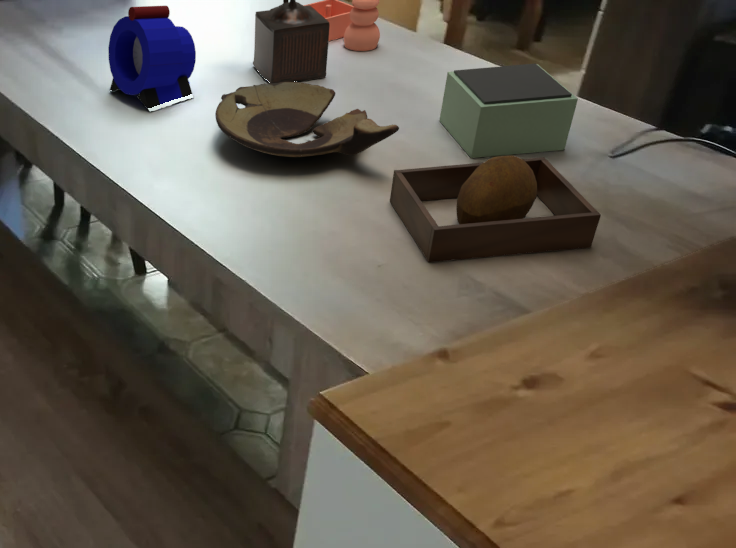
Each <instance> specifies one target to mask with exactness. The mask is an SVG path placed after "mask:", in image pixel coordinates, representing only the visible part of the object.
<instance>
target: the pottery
mask: <svg viewBox="0 0 736 548" xmlns="http://www.w3.org/2000/svg"><path fill="white" fill-rule="evenodd" d="M379 4H380V0H351V4H349V3H347V2H344V1H341V0H320V1H319V0H318V1H316V2H312V3H307V4H304V5H303V4H302V5H303V6H307V5H310V6H311V7H312V8H314V9H315V10H316V11H317V12H318V13H319V14H321V15H322V16H323V17H324V18H325V19H326V20H327V21H328V22H329V24H330V27H329V41H328V42H330V41H335V40H338V39H342V38H343V42H344V47H345V49H348V50H349V51H356V52H368V51H373V50H375V49H376V48H377V47H378V45H379V42H380V39H381V32H380V28H379V26H378V25H377V24H376V23H375V22H377V21H378V18H379V15H380V12H379V9H378V8H377V6H378V5H379Z"/></svg>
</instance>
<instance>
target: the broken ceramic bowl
mask: <svg viewBox="0 0 736 548" xmlns="http://www.w3.org/2000/svg"><path fill="white" fill-rule="evenodd" d="M335 97H336V92H335V90H334V89H332V88H329V87H325V86H321V85H319V84H310V83H306V82H304V81H301V82H280V83H259V84H253V85H250V86H239V87H237V88H236V90H235V91H233V92H229V93H224V94H222V95H221V97H220V100H221V101H220V102H219V103H218V105H217V106H216V110H215V115H214V117H215V121H216V124H217V126H218V128H219V129H220V130H221V132H222V133H223V134H224V135H226V136H227V137H228V138H230V139H231V140H233V141H235V142H236V143H238V144H240V145H242V146H244V147H246V148H249V149H251V150H254V151H257V152H259V153H263V154H268V155H272V156H278V157H284V158H285V157H286V158H305V157H314V156H321V155H322V156H323V155H326V154H332V153H340V154H343V155H346V156H355V155H359V154H361V153H363V152H364V151H366V150H367V149H369V148H371V147H373V146H374V145H376V144H378V143H380V142H382V141H384V140H386V139H388V138H390V137H391V136H393V135H394V134H396V133H397V132H398V131H399V130H400V127H399V125H397V124H389V125H378V124H377V123H376V121H374V120H373V119H372V118H368V113H367V111H366V110H365V109H364V110H361V109H359V108H355V109H353V110H351V111H349V112H345V114H343V115H341V116H338V117H336V118H335V117H334V119H332V120H329V121H327V122H324V123H323V124H320V125H318V126H315V125H316V124H317V123H318V121H319V120H321V118H322V116H323V115H324V113H325V112H326V110H327V109H328V107H329V106H330V105H331V103H332V102H333V100H334V98H335ZM237 104H238V105H242V106H244V107H242V108H239V107H238V105H237ZM314 126H315V127H314ZM313 127H314V128H313ZM311 128H313V129H312V130H311ZM310 130H311V132H312V133H313V135H314V136H316V137H317V138H315V139H313V140H307V141H305V142H300V143H296V142H292V141H289V140H287V139H285V138H290V137H296V136H300V135H303V134H305V133H306V132H309V131H310Z"/></svg>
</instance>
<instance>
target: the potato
mask: <svg viewBox="0 0 736 548" xmlns="http://www.w3.org/2000/svg"><path fill="white" fill-rule="evenodd" d="M523 159H524V158H521V157H519V156H516V155H514V154H513V155H501V156H492V157H491V158H488V159H487V160H485V161H484V163H483V162H481V163H482V164H481V165H480V166H478V167H477V168H476V169H475V171H474V172H473V173H472V174H471V176H470V177H469V178H468V179H467V180H466V182H465V183H464V184H463V185H462V187H461V189H460V192H459V195H458V198H456V199H457V200H456V209H455V210H456V211H455V212H456V219H457V223H458V224H469V223H480V222H491V221H502V220H513V219H524V218H526V216H527V215H528V213H529V212H530V210H531V209H532V208H533V205H534V203H535V201H536V198H537V197H538V196H537V181H536V179H535V176H534V173H533V170H532V169H531V168H530V167H529V165H528V164H527V163H526V162H525V161H524V160H523Z"/></svg>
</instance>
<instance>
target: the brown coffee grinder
mask: <svg viewBox="0 0 736 548" xmlns="http://www.w3.org/2000/svg"><path fill="white" fill-rule="evenodd" d="M306 5H307V4H306ZM254 17H255V20H254V48H253V50H254V51H253V61H252V65H253V67H254V66H255V67H254V69H255V68H256V69H257V70H258V71H259V73H260V74H261V75H262V76H263V77H264V78H265V79H267V80H268V81H269V82H270V83H280V82H294V81H295V82H296V81H301V82H307V81H306V80H308V81H313V80H318V79H324V78H326V77H327V66H328V55H329V54H328V53H329V42H330V41H329V27H330V24H329V22H328V21H327V20H326V19H325V18H324V17H323V16H322V15H321V14H319V13H318V12H317V11H316V10H315V9H314V8H312V7H311V6H310V5H307V6H303V4H301V3H300V2H298V1H296V0H283V1H282V3H281V4H279V5H278V6H274V7H272V8H270V9H267V10H259V11H255V13H254ZM256 69H255V70H256ZM259 73H258V74H259ZM260 74H259V75H260Z"/></svg>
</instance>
